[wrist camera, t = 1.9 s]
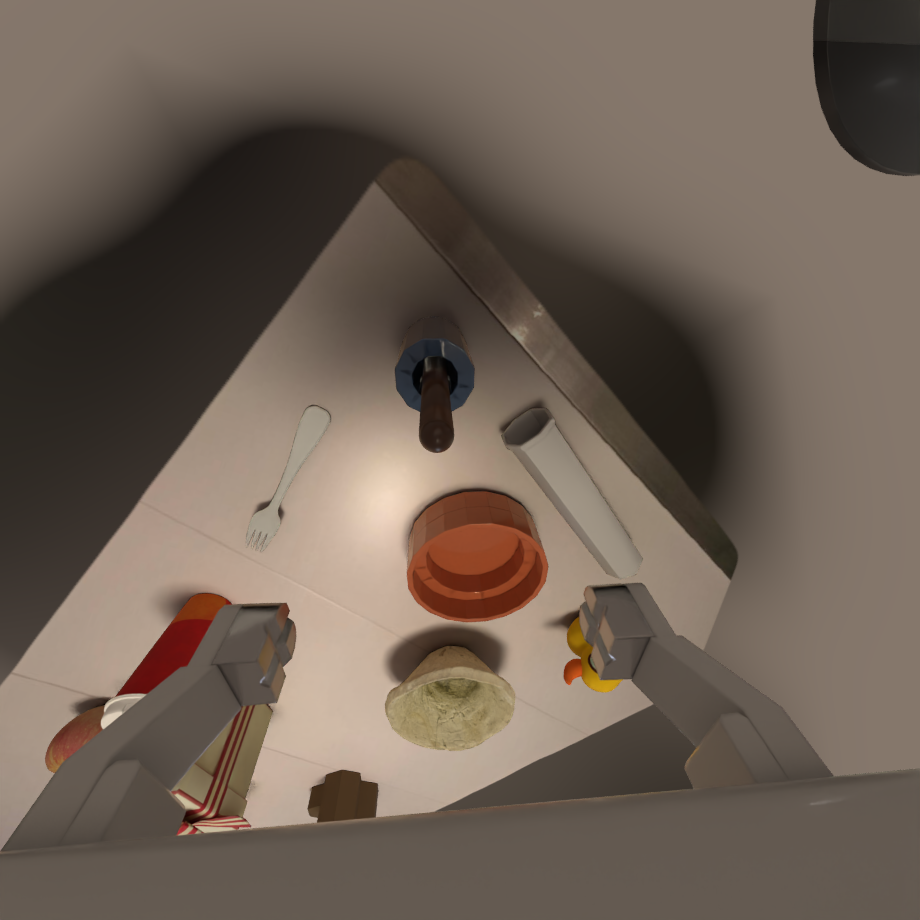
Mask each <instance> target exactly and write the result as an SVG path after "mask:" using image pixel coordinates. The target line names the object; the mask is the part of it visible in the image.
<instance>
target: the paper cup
mask: <svg viewBox="0 0 920 920" xmlns="http://www.w3.org/2000/svg"><path fill="white" fill-rule="evenodd" d="M224 605H231V603H230V602H229V601H228V600H227V599H225V598H223V597H221V596H219V595H215V594H209V593H202V594H197V595H195V596H193V597H191V598H190V599H189V601H188V602H187V603H186V604H185V605H184V607H183V608H182V609H181V611H180V612H179V613H178V614H177V616H176V617H175V618H174V620H173V621H172V622H171V624H170V625H169V626H168V628H167V629H166V630H165V631H164V633H163V634H162V635H161V637H160V638H159V639H158V641H157V642H156V643H155V645H154V646H153V647H152V649H151V650H150V651H149V653H148V654H147V655H146V657H145V658H144V659H143V661H142V662H141V663H140V665H139V666H138V667H137V669H136V670H135V671H134V673H133V674H132V675H131V677H130V678H129V679H128V681H127V682H126V683H125V685H124V686H123V687H122V689H121V690H120V691H119V693H118V694H117V695H116V697H114V698H112V699H110V700H109V701H108V702H107V703H106V705H105V707H104V715H103V717H102V719H101V726H102V728H103V729H104V728H106V727H107V726H108V725H109V724H111V723H112V722H113V721H114V720H116V719H117V718H118V717H119V716H121V715H122V714H123V713H124V712H126V711H127V710H128V709H129V708H130V707H132V706H133V705H134V704H135V703H137V702H138V701H139V700H140V699H142V698H143V697H144V696H145V695H147V694H148V693H149V692H150V691H151V690H153V689H154V688H155V687H156V686H158V685H159V684H160V683H161V682H163V681H164V680H165V679H166V678H168V677H169V676H170V675H171V674H173V673H174V672H175V671H176V670H177V669H179V668H180V667H186V666H187V665H188V664H189V662H190V660H191V658H192V657H193V655H194V653H195V651H196V649H197V648H198V646H199V644H200V642H201V641H202V639H203V637H204V635H205V634H206V632H207V630H208V628H209V627H210V625H211V623H212V621H213V620H214V618H215V616H216V614H217V612H218V611H219V610H220V609H221V608H222V607H223V606H224Z"/></svg>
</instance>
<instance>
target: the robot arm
mask: <svg viewBox="0 0 920 920" xmlns="http://www.w3.org/2000/svg"><path fill="white" fill-rule="evenodd" d="M584 597H585V600H586V601H585V602H584V603H583V604H582V605H581V606H580V611H579V623H580V627H581V631H582V634H583V637H584V640H585V641H586V642H587V643H589V644H590V645H591V646H592V647H593V650H592V653H591V658H592V660H593V663H594V666H595V668H596V671H597V673H598V676H599V678H600V680H621V679H632V682H633V683H634V684H635V685H636V686H637V687H638V688H639V689H640V690H641V691H642V692H643V693H644V694H645V695H646V696H647V697H648V698H649V699H650V700H651V701H652V702H653V703H654V704H655V705H656V706H657V707H658V708H659V710H660V711H662V713H664V715H665V716H666V717H667V718H668V719H669V720H670V721H671V722H672V723H673V724H674V725H675V726H676V727H677V728H678V729H679V730H680V731H681V732H682V733H683V734H684V735H685V736H686V737H687V738H688V739H689V740H690V741H691V742H692V743H693V744H694V746H695V747H696V749H695V751H694V752H693V753H692V755H691V756H690V758H689V759H688V760H687V762H686V765H685V767H684V768H685V771H686V773H687V775H688V777H689V779H690V781H691V783H692V786H693V788H694V789H686V790H675V791H665V792H653V793H642V794H631V795H620V796H608V797H597V798H586V799H576V800H564V801H553V802H542V803H531V804H520V805H509V806H497V807H486V808H475V809H465V810H453V811H443V812H430V813H419V814H408V815H397V816H386V817H375V818H364V819H353V820H341V821H330V822H319V823H308V824H297V825H286V826H275V827H264V828H253V829H242V830H231V831H219V832H208V833H197V834H186V835H177V833H178V830H179V828H180V825H181V823H182V821H183V818H184V816H185V813H186V809H185V806H184V804H183V803H182V802H181V801H180V800H179V799H178V798H177V797H176V796H175V795H174V794H173V793H172V792H171V790H172V789H173V788H174V787H175V786H176V784H177V783H178V782H179V781H180V780H181V779H182V777H183V776H184V775H185V774H186V773H187V772H188V770H189V769H190V768H191V767H192V766H193V765H194V764H195V762H196V761H197V760H198V759H199V758H200V757H201V755H202V754H203V753H204V752H205V751H206V750H207V748H208V747H209V746H210V745H211V744H212V743H213V741H214V740H215V739H216V738H217V737H218V736H219V734H220V733H221V732H222V731H223V730H224V729H225V727H226V726H227V725H228V724H229V723H230V722H231V720H232V719H233V718H234V717H235V716H236V715H237V714H238V712H239V711H240V710H241V709H242V708H241V706H251V705H261V704H271V703H277V701H278V698H279V695H280V692H281V689H282V686H283V683H284V680H285V677H286V675H285V672H284V670H283V667H284V666H285V665H286V664H287V663H288V662H289V661H290V660H291V659H292V655H293V652H294V649H295V643H296V627H295V624H294V622H293V621H292V620H290V619H289V618H287V617H288V614H289V612H290V610H289V608H288V605H287V603H259V604H231V605H224V606H223V607H222V608H221V609H220V610H219V611H218V612H217V614H216V616H215V618H214V620H213V621H212V623H211V625H210V627H209V628H208V630H207V632H206V634H205V635H204V637H203V639H202V641H201V642H200V644H199V646H198V648H197V649H196V651H195V653H194V655H193V657H192V658H191V660H190V662H189V664H188V665H187V666H186V667H180V668H179V669H177V670H176V671H175V672H174V673H173V674H171V675H170V676H169V677H168V678H166V679H165V680H164V681H163V682H161V683H160V684H159V685H158V686H156V687H155V688H154V689H153V690H151V691H150V692H149V693H148V694H147V695H145V696H144V697H143V698H142V699H140V700H139V701H138V702H137V703H135V704H134V705H133V706H132V707H130V708H129V709H128V710H127V711H126V712H124V713H123V714H122V715H121V716H119V717H118V718H117V719H116V720H114V721H113V722H112V723H111V724H109V725H108V726H107V727H106V728H104V729H103V730H102V731H101V732H100V733H98V734H97V735H96V736H95V737H93V738H92V739H91V740H90V741H88V742H87V743H86V744H85V745H83V746H82V747H81V748H80V749H78V750H77V751H76V752H75V753H74V754H72V755H71V756H70V757H69V758H67V759H66V760H65V761H64V762H63V763H62V764H61V765H60V767H59V768H58V770H57V771H56V773H55V774H54V775H53V777H52V778H51V780H50V781H49V783H48V784H47V785H46V787H45V788H44V790H43V791H42V793H41V794H40V795H39V797H38V798H37V800H36V801H35V803H34V804H33V805H32V807H31V808H30V810H29V811H28V813H27V814H26V815H25V817H24V818H23V820H22V821H21V823H20V824H19V825H18V827H17V828H16V830H15V831H14V833H13V834H12V835H11V837H10V838H9V840H8V841H7V843H6V844H5V845H4V847H3V848H2V850H1V851H0V920H920V769H909V770H897V771H887V772H876V773H865V774H853V775H842V776H833V775H832V773H831V772H830V771H829V769H828V768H827V766H826V765H825V764H824V762H823V761H822V760H821V759H820V757H819V756H818V754H817V753H816V752H815V750H814V749H813V748H812V746H811V745H810V744H809V742H808V741H807V740H806V738H805V737H804V736H803V734H802V733H801V732H800V730H799V729H798V728H797V727H796V725H795V724H794V722H793V721H792V720H791V718H790V717H789V716H788V714H787V713H786V712H785V710H784V709H783V708H782V707H781V706H779V705H778V704H777V703H775V702H774V701H773V700H771V699H770V698H768V697H767V696H766V695H764V694H762V693H761V692H760V691H758V690H757V689H756V688H754V687H753V686H751V685H750V684H749V683H747V682H746V681H745V680H743V679H742V678H740V677H739V676H738V675H736V674H735V673H733V672H732V671H731V670H729V669H728V668H726V667H725V666H724V665H722V664H721V663H719V662H718V661H716V660H715V659H714V658H712V657H711V656H709V655H708V654H707V653H705V652H704V651H703V650H701V649H700V648H698V647H697V646H696V645H694V644H693V643H691V642H690V641H689V640H687V639H686V638H684V637H683V636H676V635H675V633H674V631H673V630H672V628H671V627H670V625H669V623H668V622H667V620H666V619H665V617H664V615H663V614H662V612H661V611H660V609H659V607H658V606H657V604H656V603H655V601H654V599H653V598H652V596H651V595H650V593H649V591H648V590H647V588H646V587H645V586H644V585H643V584H642V583H628V584H606V585H592V586H587V587H586V588H585V591H584Z"/></svg>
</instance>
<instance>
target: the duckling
mask: <svg viewBox="0 0 920 920" xmlns="http://www.w3.org/2000/svg"><path fill="white" fill-rule="evenodd" d="M567 643H568V645H569V647H570V649H571V650H572V651H573V652H574V653H575V654H576V655H577V656H579V657H581V659H573V660H571V661H569V662H568V663H567V664H566V666H565V669H564V680H565V682H566V683H567V684H568V685H570V684H571V682H572V680H573V679H575V678H577V677H580V676H581V677H582V679H583V681H584V683H585V684H586V685H587V686H588V687H589V688H591V689H593V690H595V691H598V692H609V691H612V690H613V689H615V688H616V687H617V686H618V684H619V683H620V682H621V681H622V680H623V679H621V680H600V678H599V676H598V673H597V671H596V668H595V666H594V663H593V660H592V658H591V653H592V650H593V647H592V646H591V645H590V644H589V643H587V642H586V641H585V640H584V637H583V634H582V631H581V627H580V623H579V617H577V618H576V619H575V620H574V621H573V623H572V624H571V625H570V627H569V629H568V632H567Z"/></svg>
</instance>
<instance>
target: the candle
mask: <svg viewBox="0 0 920 920" xmlns="http://www.w3.org/2000/svg"><path fill="white" fill-rule="evenodd" d="M377 798H378V784H376V783H370V782H365V781H361V776H360V773H356V772H351V771H345V770H341V771H337V772H334V773H331V774H327V775H326V779H325V784H321V785H318V786H315V787H312V791H311V795H310V800H309V805H308V812H309V815H310V816H311V817H317V818H318V820H317V823H319V822H330V821H341V820H353V819H364V818H375V817H376V808H377Z"/></svg>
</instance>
